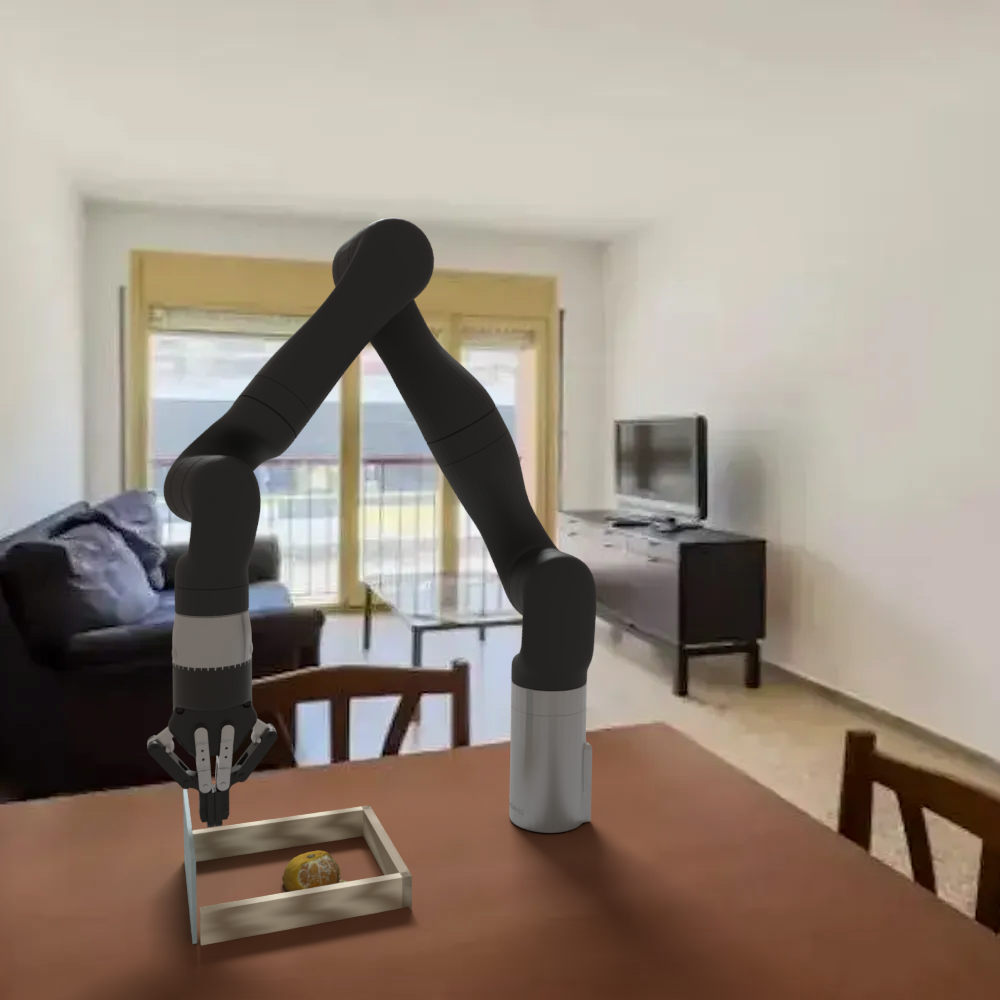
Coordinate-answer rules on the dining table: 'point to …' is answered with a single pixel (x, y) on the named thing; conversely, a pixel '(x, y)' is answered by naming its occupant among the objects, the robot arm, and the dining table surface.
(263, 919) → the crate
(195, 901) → the panel
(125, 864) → the dining table surface
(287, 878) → the fruit
